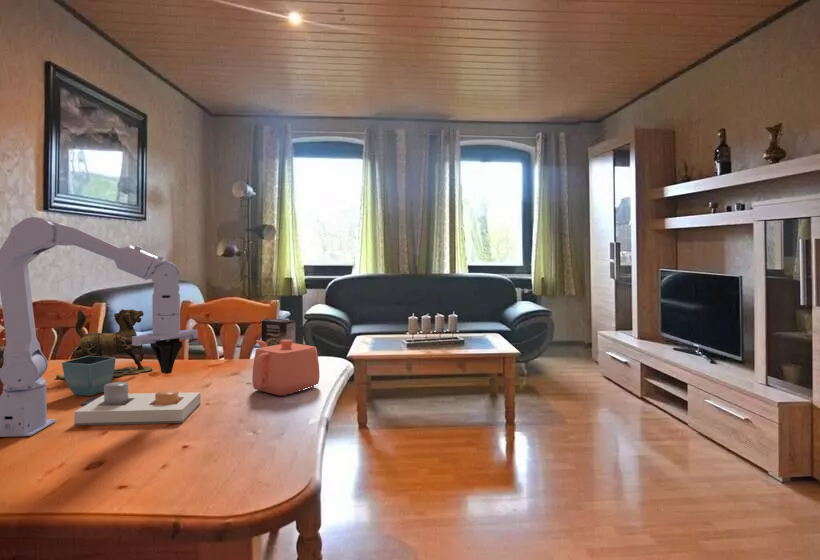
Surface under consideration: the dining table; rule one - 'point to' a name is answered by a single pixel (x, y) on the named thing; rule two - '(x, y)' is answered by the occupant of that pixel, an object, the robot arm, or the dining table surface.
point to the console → (137, 410)
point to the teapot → (285, 367)
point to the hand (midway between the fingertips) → (166, 372)
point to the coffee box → (278, 331)
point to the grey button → (115, 393)
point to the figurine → (112, 342)
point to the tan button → (166, 398)
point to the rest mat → (89, 401)
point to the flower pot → (88, 374)
